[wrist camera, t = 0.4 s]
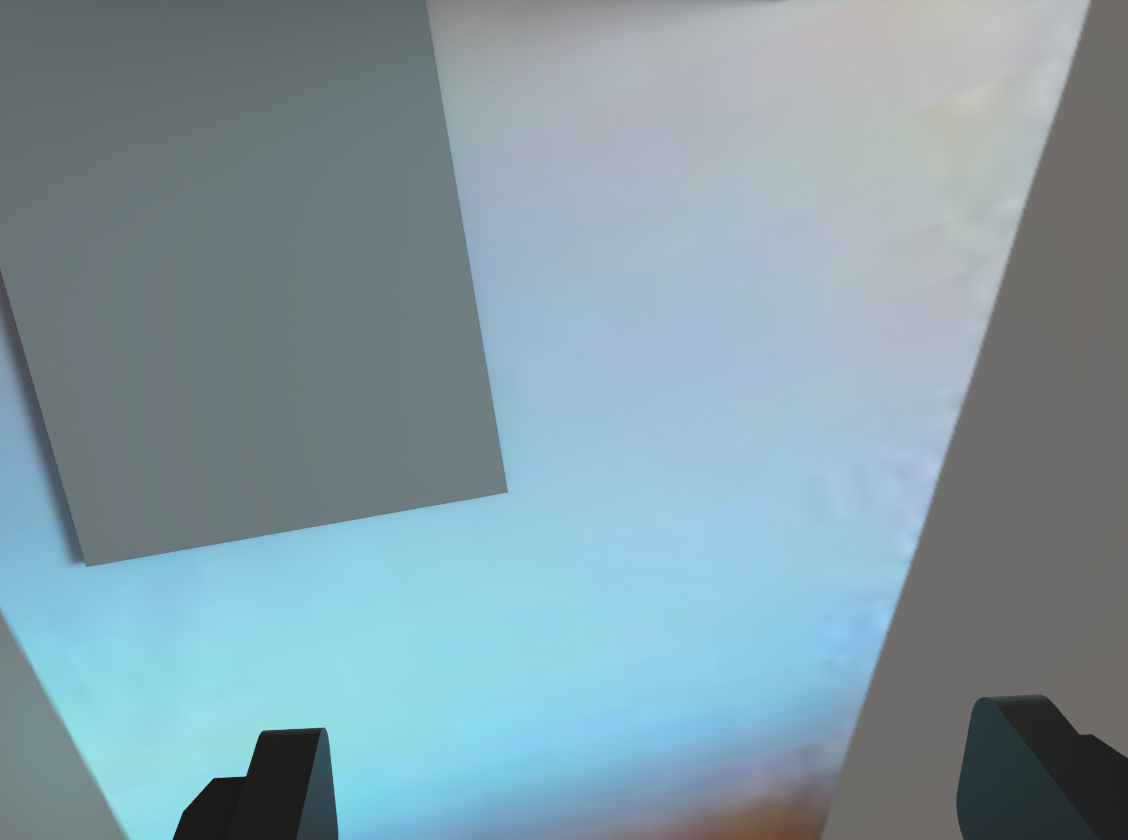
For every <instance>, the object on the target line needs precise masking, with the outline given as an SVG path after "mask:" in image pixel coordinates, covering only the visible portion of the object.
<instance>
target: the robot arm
mask: <svg viewBox="0 0 1128 840" xmlns="http://www.w3.org/2000/svg"><path fill="white" fill-rule="evenodd" d="M957 815H958V821H959V825H960V829H961V833H962V836H963V838H964V840H1128V758H1126V757H1125V756H1123V755H1122V754H1120V753H1119V752H1117V751H1116V750H1114V749H1113V748H1111V747H1110V746H1108V745H1107V744H1106V743H1104V742H1103V741H1101V740H1099V739H1098V738H1096V737H1095V736H1093V735H1092V734H1090V735H1079V733H1078V732H1077V731H1076V730H1075V729H1074V727H1073V726H1072V725H1071V724H1070V723H1069V722H1068V720H1067V719H1066V718H1065V717H1064V716H1063V715H1062V713H1061V712H1060V711H1059V710H1058V709H1057V707H1056V706H1055V705H1054V704H1053V703H1052V702H1051V701H1050V700H1049V699H1048V698H1047V697H1045V696H1043V695H1019V696H1000V697H983V698H980V699H979V700H977V701H976V703H975V705H974V707H973V710H972V714H971V719H970V725H969V730H968V736H967V741H966V747H965V752H964V758H963V764H962V769H961V774H960V780H959V785H958V790H957ZM173 840H338V824H337V814H336V804H335V795H334V785H333V776H332V766H331V757H330V747H329V739H328V734H327V731H326V729H325V728H307V729H287V730H267V731H262V732H261V733H260V735H259V738H258V740H257V743H256V747H255V750H254V753H253V756H252V760H251V763H250V766H249V769H248V772H247V776H246V777H228V778H214V779H213V780H212V781H211V782H210V783H209V784H208V785H207V786H206V787H205V788H204V789H203V791H202V792H201V793H200V794H199V795H198V796H197V797H196V798H195V799H194V800H193V802H192V803H191V804H190V805H189V806H188V807H187V808H186V809H185V810H184V811H183V813H182V816H181V819H180V821H179V824H178V827H177V829H176V832H175V835H174V837H173Z"/></svg>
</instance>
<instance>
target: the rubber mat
mask: <svg viewBox="0 0 1128 840" xmlns="http://www.w3.org/2000/svg"><path fill="white" fill-rule="evenodd" d="M0 270H1V274H2V277H3V281H4V284H5V288H6V291H7V295H8V298H9V302H10V305H11V308H12V312H13V315H14V319H15V322H16V326H17V329H18V333H19V336H20V340H21V343H22V346H23V350H24V353H25V357H26V360H27V364H28V367H29V371H30V374H31V378H32V381H33V384H34V388H35V391H36V395H37V398H38V402H39V405H40V409H41V412H42V416H43V419H44V422H45V426H46V429H47V433H48V436H49V440H50V443H51V447H52V450H53V454H54V457H55V460H56V464H57V467H58V471H59V474H60V478H61V481H62V485H63V488H64V492H65V495H66V498H67V502H68V505H69V509H70V512H71V516H72V519H73V523H74V526H75V530H76V533H77V536H78V540H79V543H80V547H81V550H82V554H83V557H84V561H85V564H86V567H89V566H95V565H100V564H106V563H112V562H117V561H123V560H128V559H134V558H140V557H145V556H151V555H157V554H162V553H168V552H174V551H179V550H185V549H191V548H196V547H202V546H208V545H213V544H219V543H225V542H230V541H236V540H242V539H247V538H253V537H259V536H264V535H270V534H276V533H281V532H287V531H293V530H298V529H304V528H310V527H315V526H321V525H326V524H332V523H338V522H343V521H349V520H355V519H360V518H366V517H372V516H377V515H383V514H389V513H394V512H400V511H406V510H411V509H417V508H423V507H428V506H434V505H440V504H445V503H451V502H457V501H462V500H468V499H474V498H479V497H485V496H491V495H496V494H502V493H507V492H508V491H507V485H506V479H505V473H504V467H503V461H502V455H501V449H500V443H499V437H498V431H497V425H496V420H495V414H494V408H493V402H492V396H491V390H490V384H489V378H488V372H487V366H486V360H485V354H484V348H483V342H482V336H481V330H480V324H479V319H478V313H477V307H476V301H475V295H474V289H473V283H472V277H471V271H470V265H469V259H468V253H467V247H466V241H465V235H464V229H463V223H462V218H461V212H460V206H459V200H458V194H457V188H456V182H455V176H454V170H453V164H452V158H451V152H450V146H449V140H448V134H447V128H446V122H445V117H444V111H443V105H442V99H441V93H440V87H439V81H438V75H437V69H436V63H435V57H434V51H433V45H432V39H431V33H430V27H429V21H428V16H427V10H426V4H425V0H0Z"/></svg>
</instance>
